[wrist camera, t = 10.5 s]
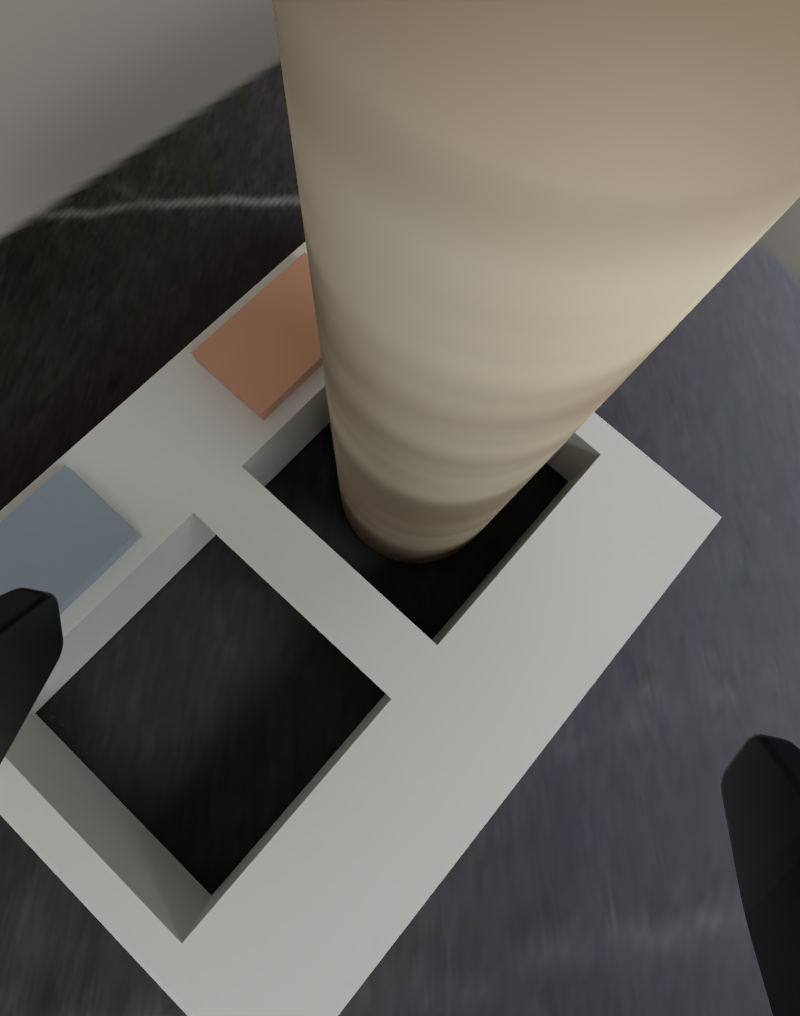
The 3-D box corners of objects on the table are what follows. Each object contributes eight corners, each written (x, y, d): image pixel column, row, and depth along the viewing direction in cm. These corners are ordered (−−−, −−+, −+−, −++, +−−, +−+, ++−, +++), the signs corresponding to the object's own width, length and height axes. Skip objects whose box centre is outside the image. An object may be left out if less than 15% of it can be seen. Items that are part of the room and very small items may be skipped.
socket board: (285, 1027, 14) (266, 1119, 11) (-75, 648, 16) (-171, 648, 13) (672, 536, 18) (731, 513, 15) (347, 263, 19) (344, 195, 16)
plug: (481, 575, 17) (955, 257, 3) (327, 549, 17) (182, 118, 3) (499, 431, 18) (912, -246, 4) (354, 406, 18) (330, -361, 4)
